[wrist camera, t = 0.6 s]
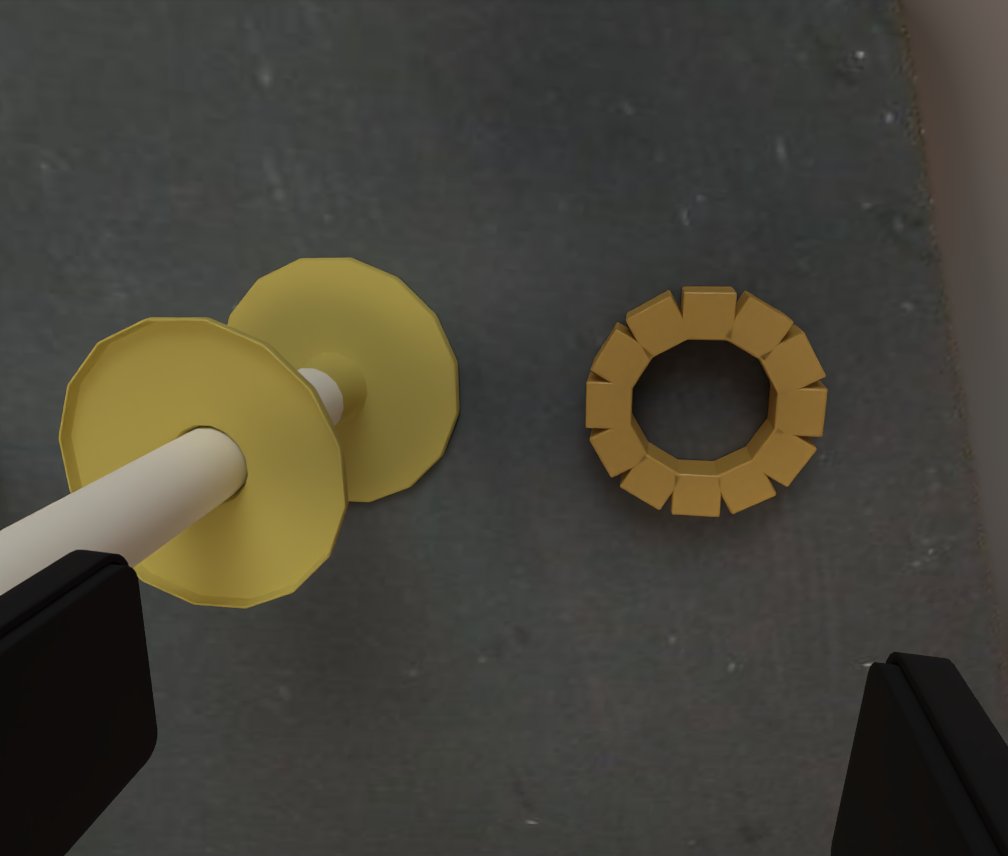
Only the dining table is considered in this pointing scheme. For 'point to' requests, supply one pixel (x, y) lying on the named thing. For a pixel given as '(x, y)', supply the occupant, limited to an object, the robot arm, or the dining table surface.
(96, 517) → the candle
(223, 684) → the dining table surface
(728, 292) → the ring
